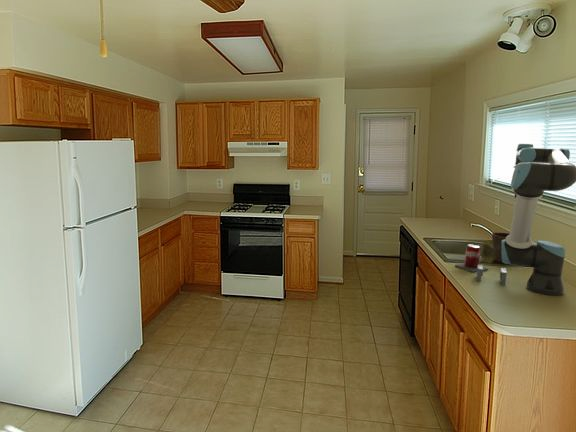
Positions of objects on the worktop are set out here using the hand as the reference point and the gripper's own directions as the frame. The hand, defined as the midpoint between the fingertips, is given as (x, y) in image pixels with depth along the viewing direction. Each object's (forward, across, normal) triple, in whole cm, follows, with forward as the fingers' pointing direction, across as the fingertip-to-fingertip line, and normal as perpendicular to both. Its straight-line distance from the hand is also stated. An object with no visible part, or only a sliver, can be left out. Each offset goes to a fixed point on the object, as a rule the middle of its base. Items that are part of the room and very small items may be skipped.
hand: (516, 211), depth 225 cm
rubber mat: (+33, +11, -20) cm, 40 cm away
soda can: (+32, +11, -20) cm, 39 cm away
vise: (+33, +29, -10) cm, 45 cm away
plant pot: (+33, -15, -3) cm, 36 cm away
